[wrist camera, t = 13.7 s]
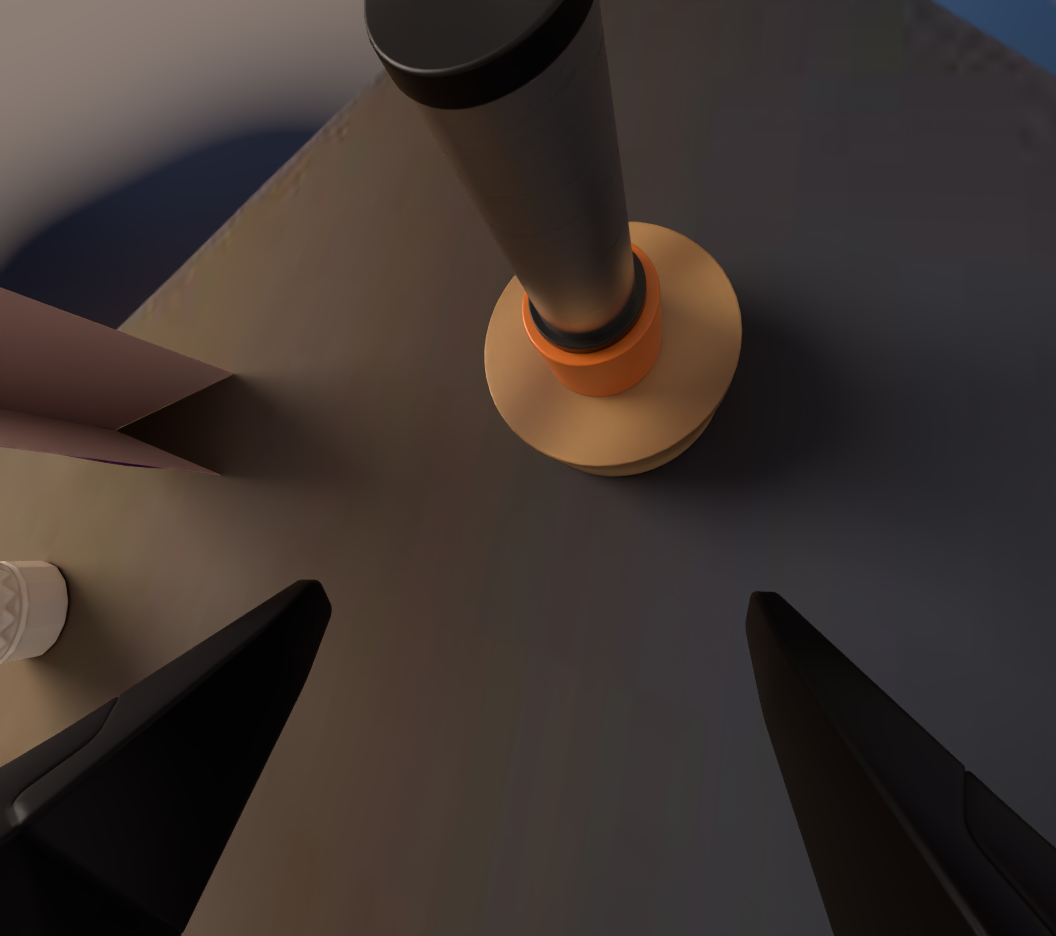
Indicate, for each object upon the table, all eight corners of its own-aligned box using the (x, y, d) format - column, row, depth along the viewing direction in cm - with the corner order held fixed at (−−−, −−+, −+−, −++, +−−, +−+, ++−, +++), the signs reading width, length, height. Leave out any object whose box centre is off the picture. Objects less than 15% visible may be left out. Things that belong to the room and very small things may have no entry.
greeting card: (109, 441, 33) (-315, 371, 19) (144, 345, 33) (-246, 206, 19) (216, 488, 29) (-211, 444, 15) (254, 380, 30) (-128, 237, 15)
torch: (626, 416, 17) (529, 150, 5) (527, 370, 19) (278, 80, 7) (683, 310, 17) (716, -203, 5) (580, 272, 19) (420, -194, 7)
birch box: (777, 348, 20) (805, 299, 16) (631, 523, 21) (621, 521, 17) (600, 244, 24) (585, 181, 19) (479, 400, 24) (439, 371, 20)
